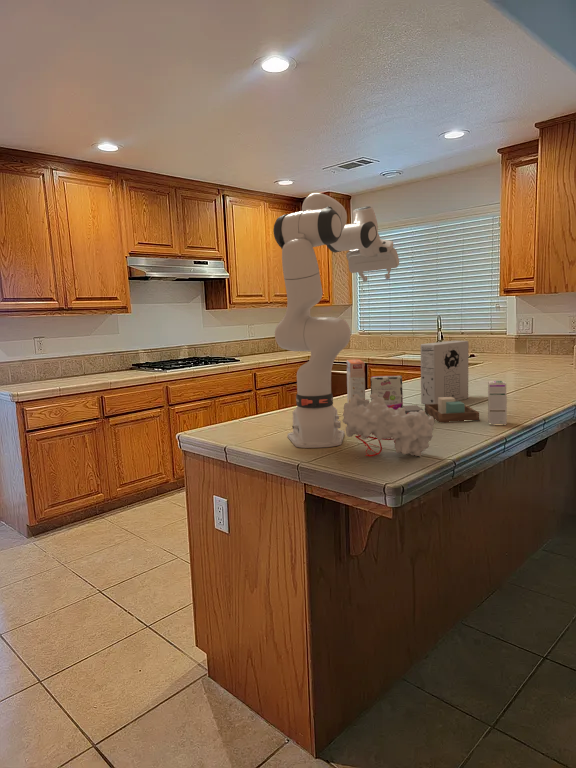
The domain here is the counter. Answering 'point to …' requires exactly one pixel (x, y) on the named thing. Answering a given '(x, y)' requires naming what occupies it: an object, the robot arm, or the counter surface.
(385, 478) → the counter surface
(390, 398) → the candy bar box
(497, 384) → the syrup box
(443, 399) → the cream block
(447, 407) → the teal block
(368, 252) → the robot arm
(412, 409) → the trivet
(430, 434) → the lumpy white molecule
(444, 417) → the crate
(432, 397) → the cereal box
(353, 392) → the cracker box
